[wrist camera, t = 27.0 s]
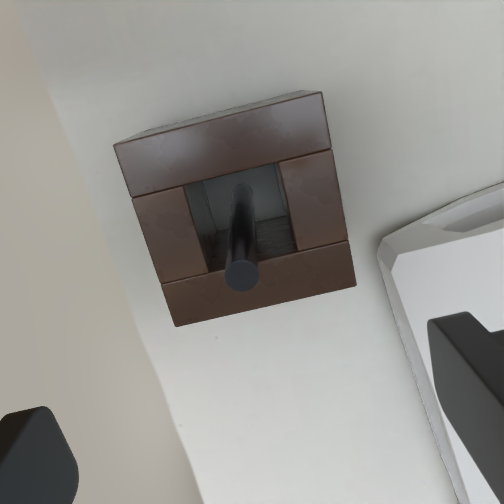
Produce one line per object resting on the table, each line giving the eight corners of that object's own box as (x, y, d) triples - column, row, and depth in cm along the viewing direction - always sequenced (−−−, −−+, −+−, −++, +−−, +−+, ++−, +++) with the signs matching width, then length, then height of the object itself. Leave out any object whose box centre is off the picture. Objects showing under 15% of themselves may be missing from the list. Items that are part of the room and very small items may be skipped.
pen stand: (143, 130, 27) (112, 144, 21) (302, 90, 27) (322, 90, 20) (189, 276, 31) (174, 327, 24) (332, 243, 30) (357, 286, 23)
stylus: (229, 188, 29) (217, 274, 16) (243, 176, 28) (243, 253, 15) (241, 203, 29) (240, 298, 16) (255, 191, 29) (266, 278, 16)
